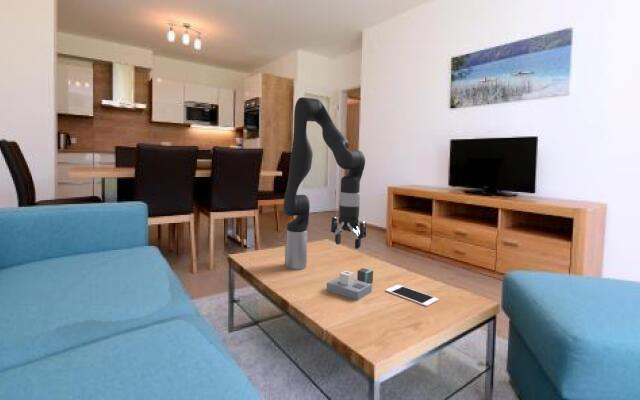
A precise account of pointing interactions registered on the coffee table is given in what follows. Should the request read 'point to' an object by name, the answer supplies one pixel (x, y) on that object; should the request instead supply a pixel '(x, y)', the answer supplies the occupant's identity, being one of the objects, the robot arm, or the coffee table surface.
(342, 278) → the block
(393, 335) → the coffee table surface
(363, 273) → the grey and blue block
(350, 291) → the outlet
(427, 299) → the cell phone
